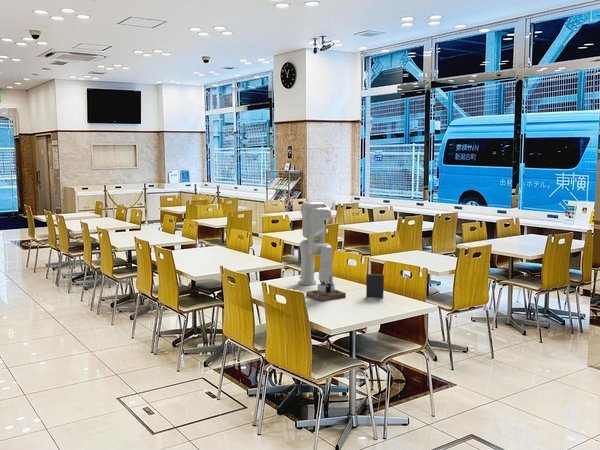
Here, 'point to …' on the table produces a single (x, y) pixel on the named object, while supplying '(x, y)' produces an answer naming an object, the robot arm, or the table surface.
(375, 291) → the calculator
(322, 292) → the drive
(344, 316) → the table surface
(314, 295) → the tray
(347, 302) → the table surface
